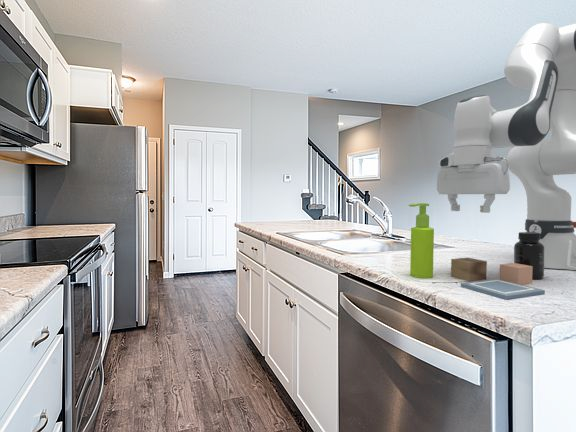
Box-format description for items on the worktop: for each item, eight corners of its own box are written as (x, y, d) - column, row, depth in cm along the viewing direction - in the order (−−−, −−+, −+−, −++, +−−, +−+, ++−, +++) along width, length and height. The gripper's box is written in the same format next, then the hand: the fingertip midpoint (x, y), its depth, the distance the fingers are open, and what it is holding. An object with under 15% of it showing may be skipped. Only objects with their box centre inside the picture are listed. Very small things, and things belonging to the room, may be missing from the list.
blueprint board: (496, 282, 92) (496, 278, 92) (544, 293, 81) (544, 289, 81) (460, 286, 88) (460, 282, 88) (506, 299, 77) (506, 295, 77)
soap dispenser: (402, 274, 101) (403, 203, 100) (422, 272, 104) (423, 202, 103) (417, 279, 96) (418, 203, 95) (437, 277, 98) (439, 203, 97)
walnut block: (467, 275, 101) (467, 257, 100) (486, 280, 95) (486, 261, 95) (450, 277, 99) (451, 259, 98) (469, 282, 93) (469, 262, 93)
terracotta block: (513, 279, 95) (513, 262, 95) (532, 284, 91) (532, 266, 90) (499, 281, 93) (499, 264, 93) (517, 286, 89) (518, 268, 88)
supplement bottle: (531, 273, 102) (533, 231, 101) (550, 279, 95) (551, 233, 94) (507, 274, 101) (509, 231, 101) (524, 280, 94) (525, 234, 94)
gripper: (517, 155, 86) (515, 213, 87) (450, 162, 106) (449, 210, 106) (498, 154, 84) (496, 213, 85) (433, 161, 103) (432, 210, 104)
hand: (469, 211), depth 96 cm, fingers open, 8 cm apart
